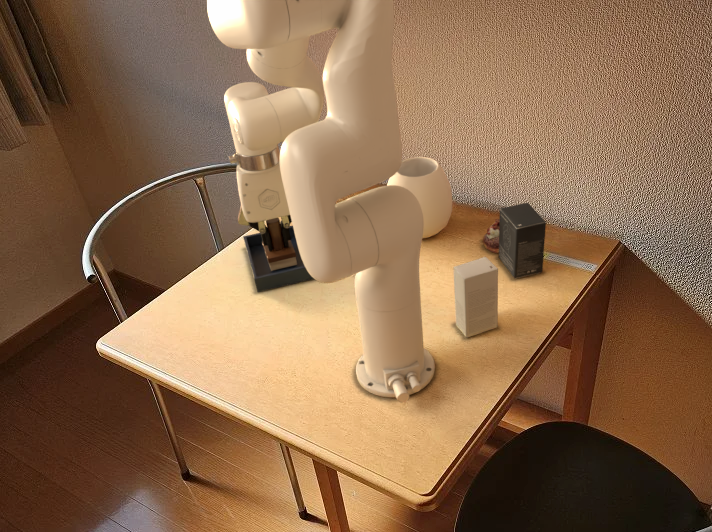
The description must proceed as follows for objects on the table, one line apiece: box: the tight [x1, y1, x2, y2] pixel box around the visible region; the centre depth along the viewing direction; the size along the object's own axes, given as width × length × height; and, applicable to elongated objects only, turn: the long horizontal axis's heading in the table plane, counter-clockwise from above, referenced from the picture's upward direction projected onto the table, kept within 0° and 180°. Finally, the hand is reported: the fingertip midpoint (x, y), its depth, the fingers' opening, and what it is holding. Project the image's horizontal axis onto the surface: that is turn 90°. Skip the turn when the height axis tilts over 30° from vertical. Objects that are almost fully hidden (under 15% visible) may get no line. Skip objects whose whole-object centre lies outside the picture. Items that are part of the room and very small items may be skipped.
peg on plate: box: [262, 217, 297, 271], centre depth 142 cm, size 7×5×9 cm
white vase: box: [386, 156, 453, 239], centre depth 145 cm, size 13×13×14 cm
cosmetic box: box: [453, 256, 499, 339], centre depth 120 cm, size 6×4×12 cm
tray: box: [242, 224, 315, 293], centre depth 144 cm, size 16×12×3 cm
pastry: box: [482, 218, 500, 254], centre depth 140 cm, size 8×8×5 cm
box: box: [498, 202, 547, 279], centre depth 133 cm, size 8×6×11 cm
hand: (277, 244), depth 143 cm, fingers closed on peg on plate, 2 cm apart
